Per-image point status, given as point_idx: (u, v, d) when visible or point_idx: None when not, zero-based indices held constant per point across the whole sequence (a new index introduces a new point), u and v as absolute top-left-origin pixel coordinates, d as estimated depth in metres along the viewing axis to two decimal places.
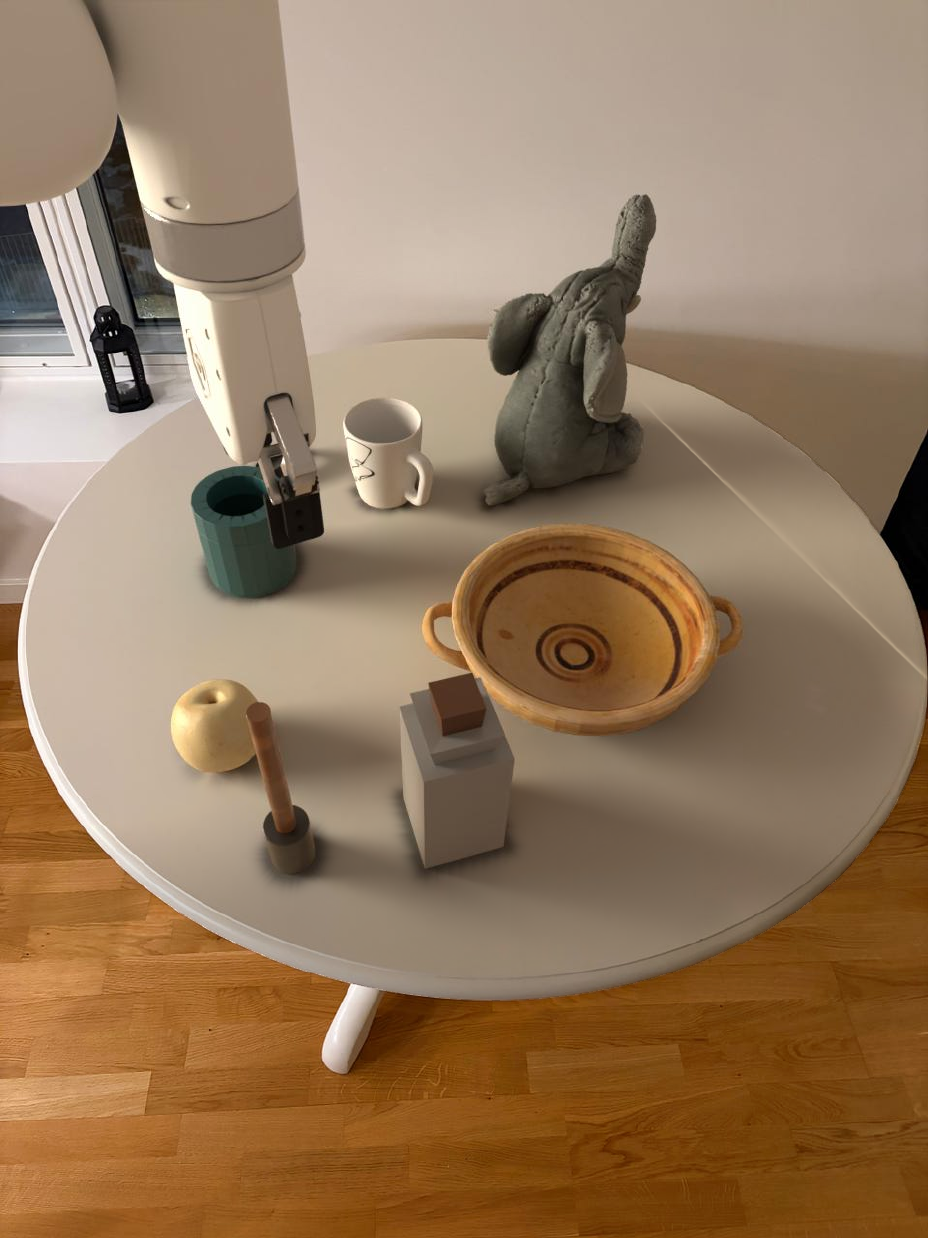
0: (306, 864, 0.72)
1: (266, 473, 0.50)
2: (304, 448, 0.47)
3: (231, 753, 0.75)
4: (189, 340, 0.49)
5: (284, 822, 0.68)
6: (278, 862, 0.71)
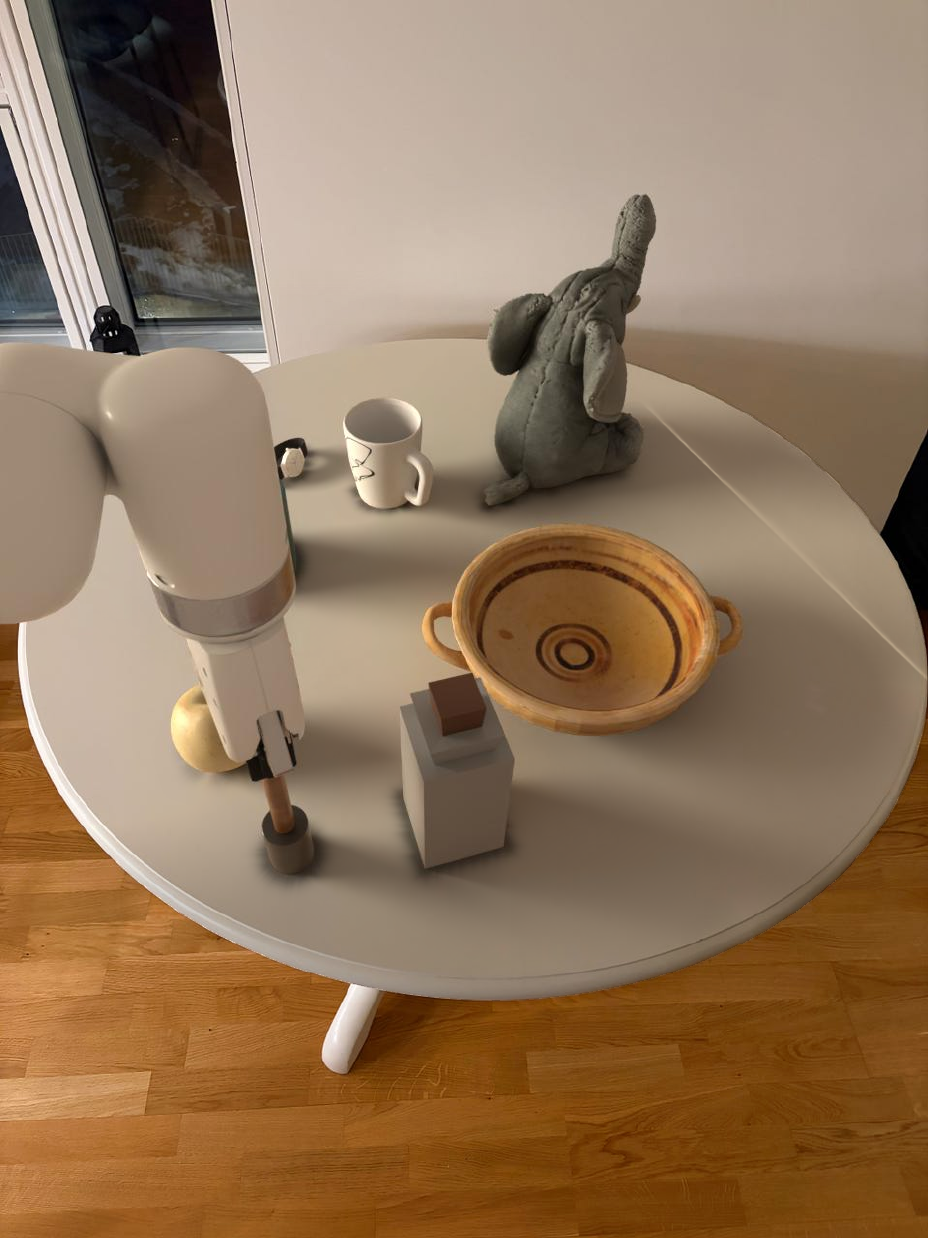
0: (305, 864, 0.72)
1: None
2: (286, 759, 0.54)
3: None
4: None
5: (283, 822, 0.68)
6: (277, 862, 0.71)
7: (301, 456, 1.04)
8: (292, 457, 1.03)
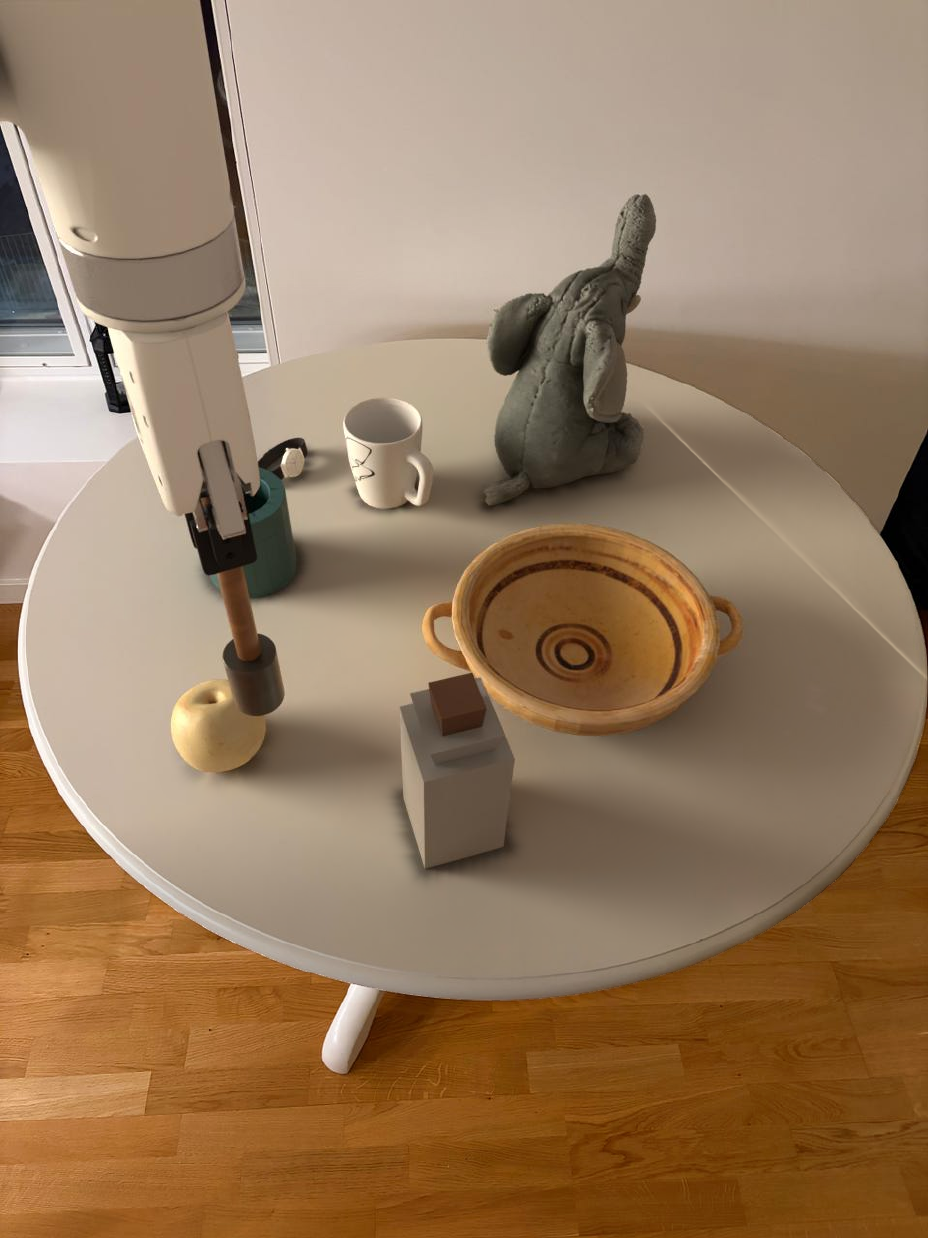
0: (273, 704, 0.64)
1: (195, 512, 0.48)
2: (236, 514, 0.45)
3: (231, 753, 0.75)
4: (122, 378, 0.45)
5: (246, 645, 0.59)
6: (240, 699, 0.63)
7: (301, 456, 1.04)
8: (292, 457, 1.03)
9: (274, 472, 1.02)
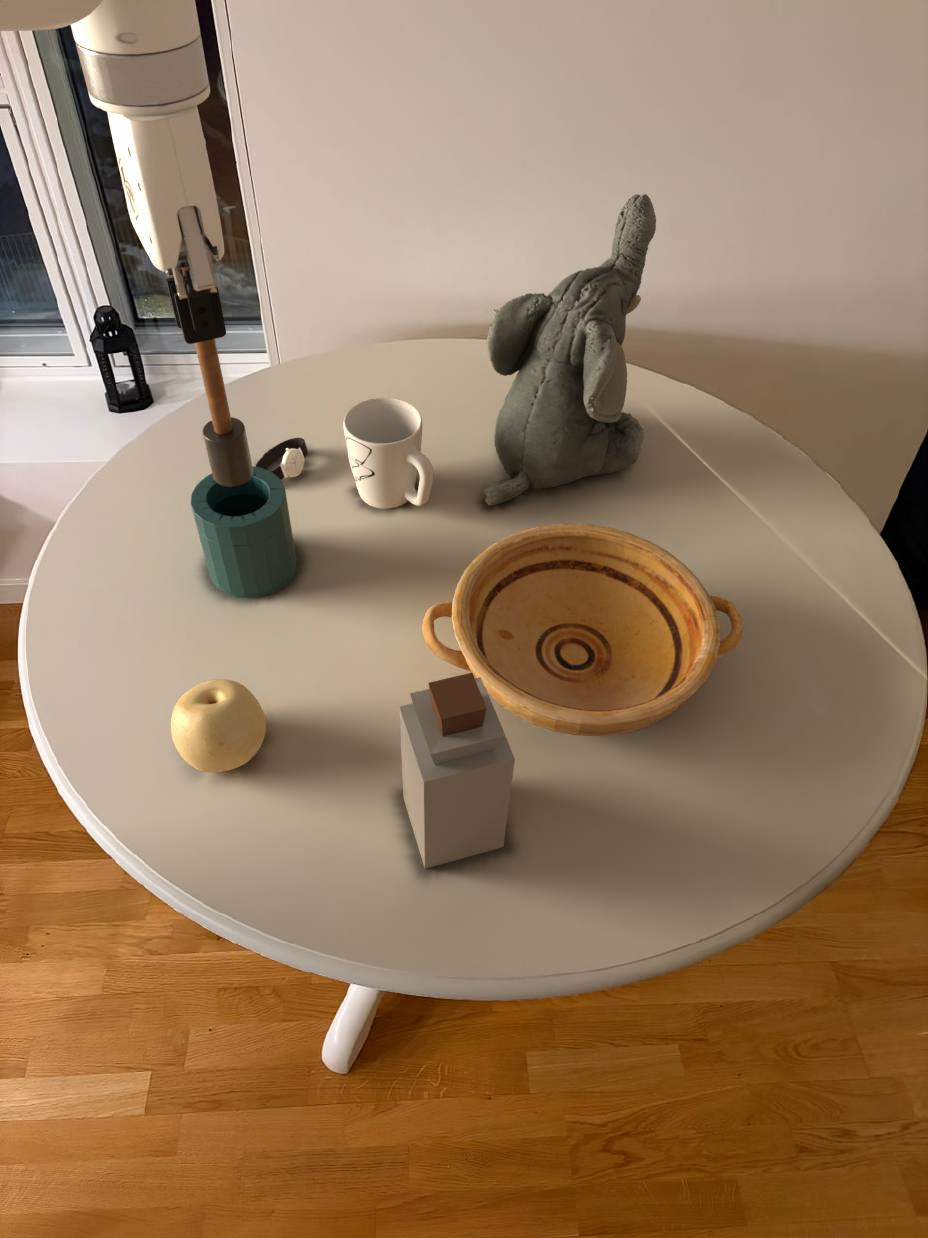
0: (243, 476, 0.80)
1: (177, 279, 0.65)
2: (207, 269, 0.62)
3: (231, 753, 0.75)
4: (122, 171, 0.62)
5: (220, 417, 0.76)
6: (217, 469, 0.79)
7: (301, 456, 1.04)
8: (292, 457, 1.03)
9: (274, 472, 1.02)
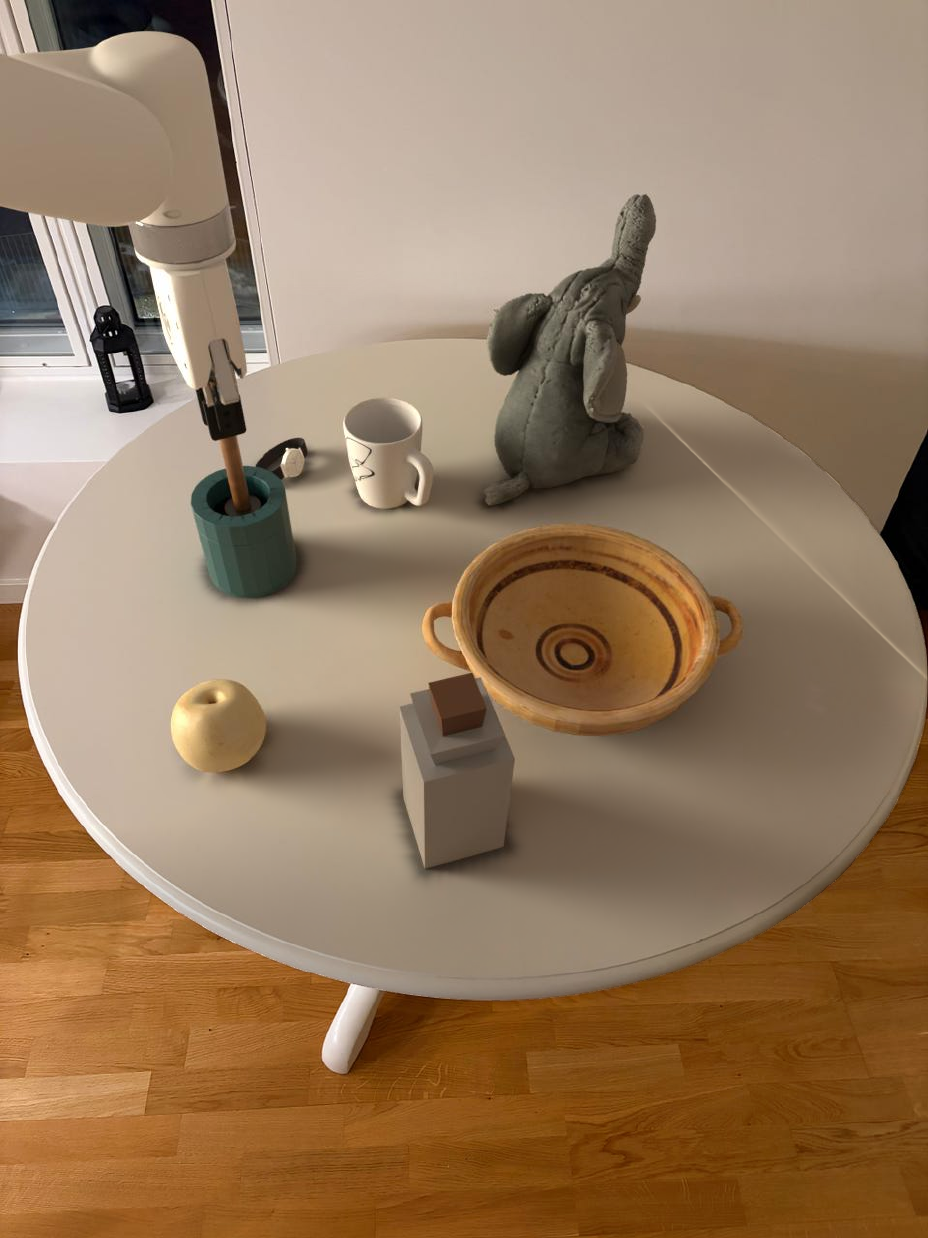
0: None
1: (206, 392, 0.75)
2: (232, 388, 0.73)
3: (231, 753, 0.75)
4: (160, 304, 0.73)
5: (240, 497, 0.87)
6: None
7: (301, 456, 1.04)
8: (292, 457, 1.03)
9: (274, 472, 1.02)
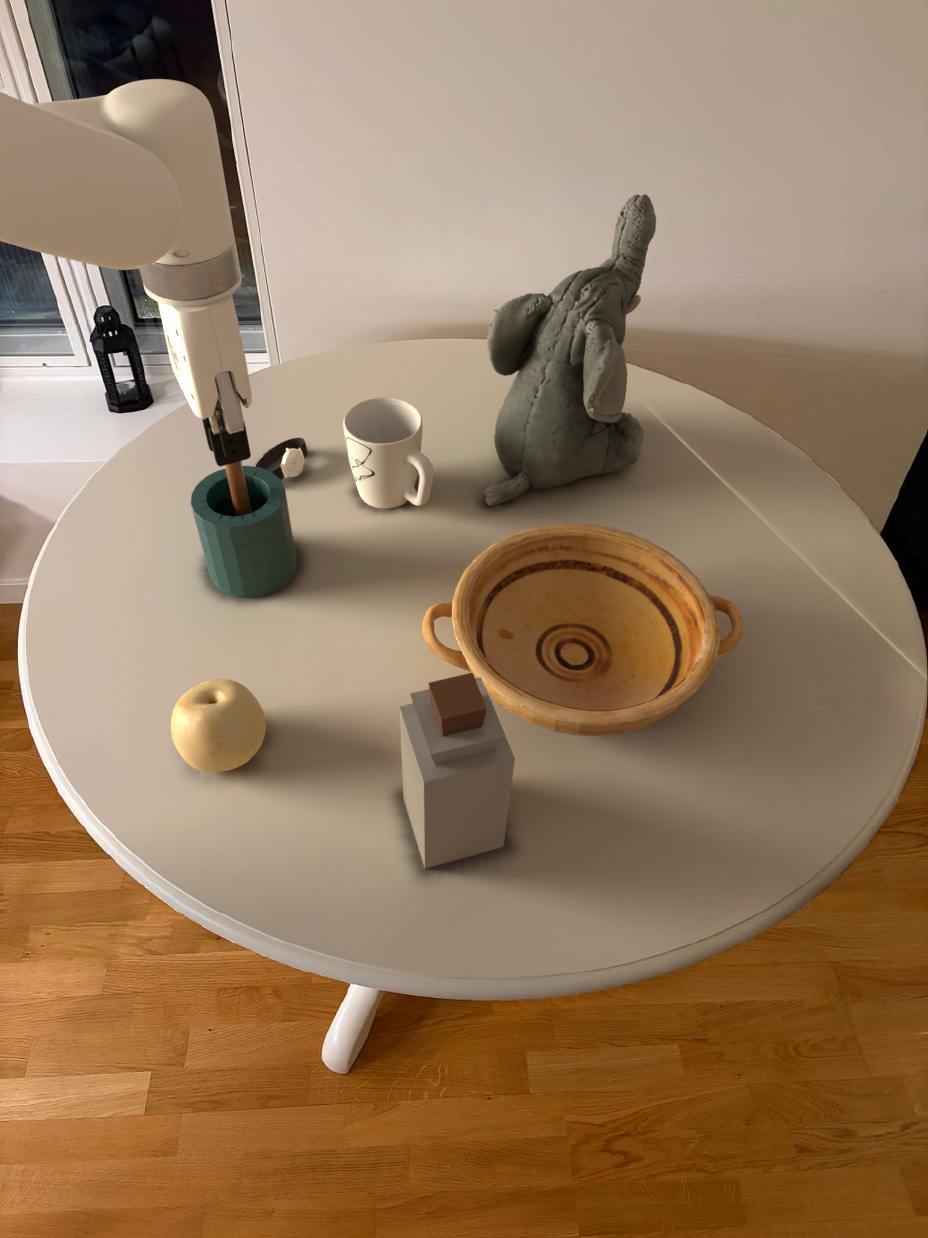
0: None
1: (212, 420, 0.78)
2: (238, 417, 0.75)
3: (231, 753, 0.75)
4: (167, 336, 0.75)
5: None
6: None
7: (301, 456, 1.04)
8: (292, 457, 1.03)
9: (274, 472, 1.02)
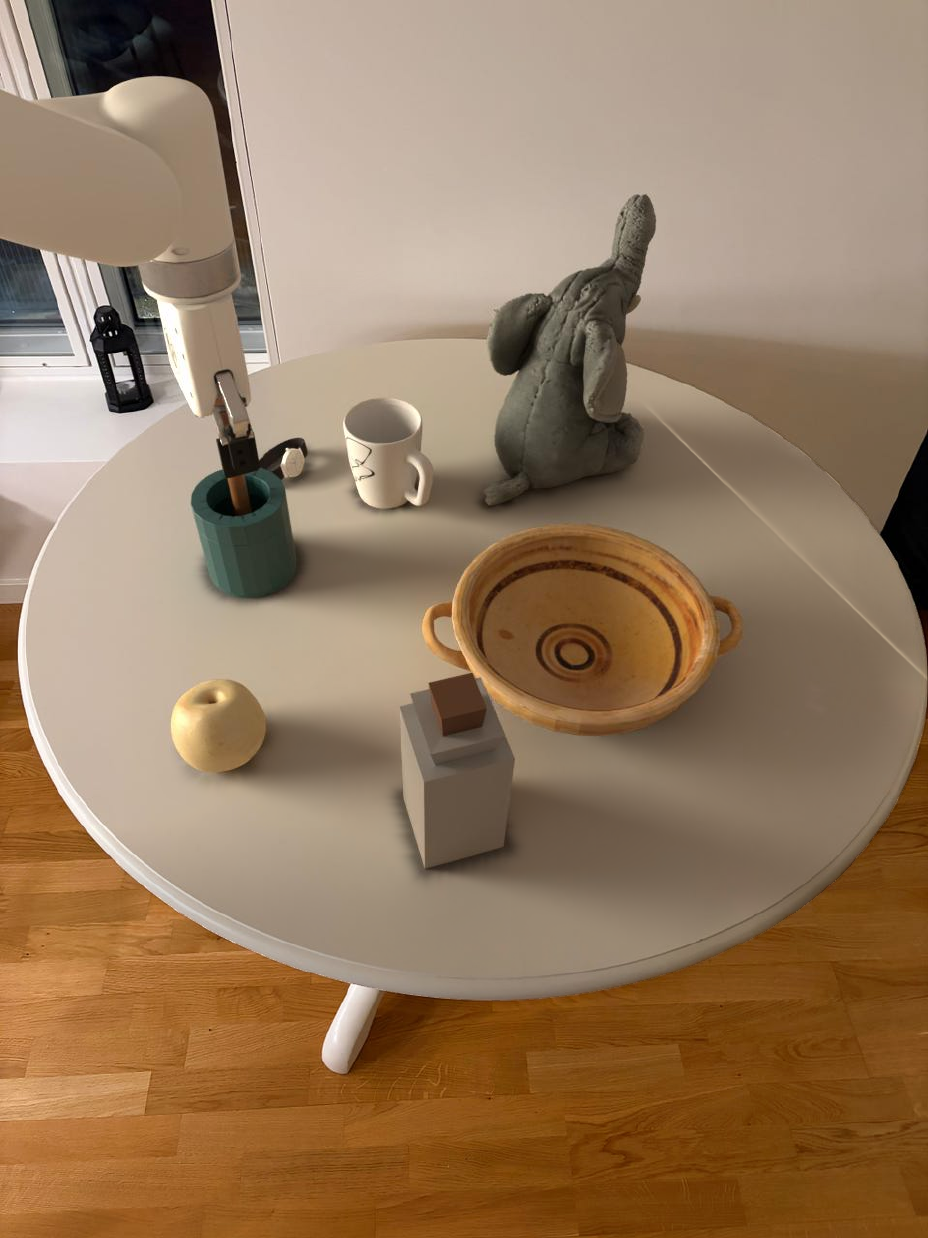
0: None
1: (217, 423, 0.75)
2: (239, 405, 0.72)
3: (231, 753, 0.75)
4: (166, 335, 0.75)
5: None
6: None
7: (301, 456, 1.04)
8: (292, 457, 1.03)
9: (274, 472, 1.02)
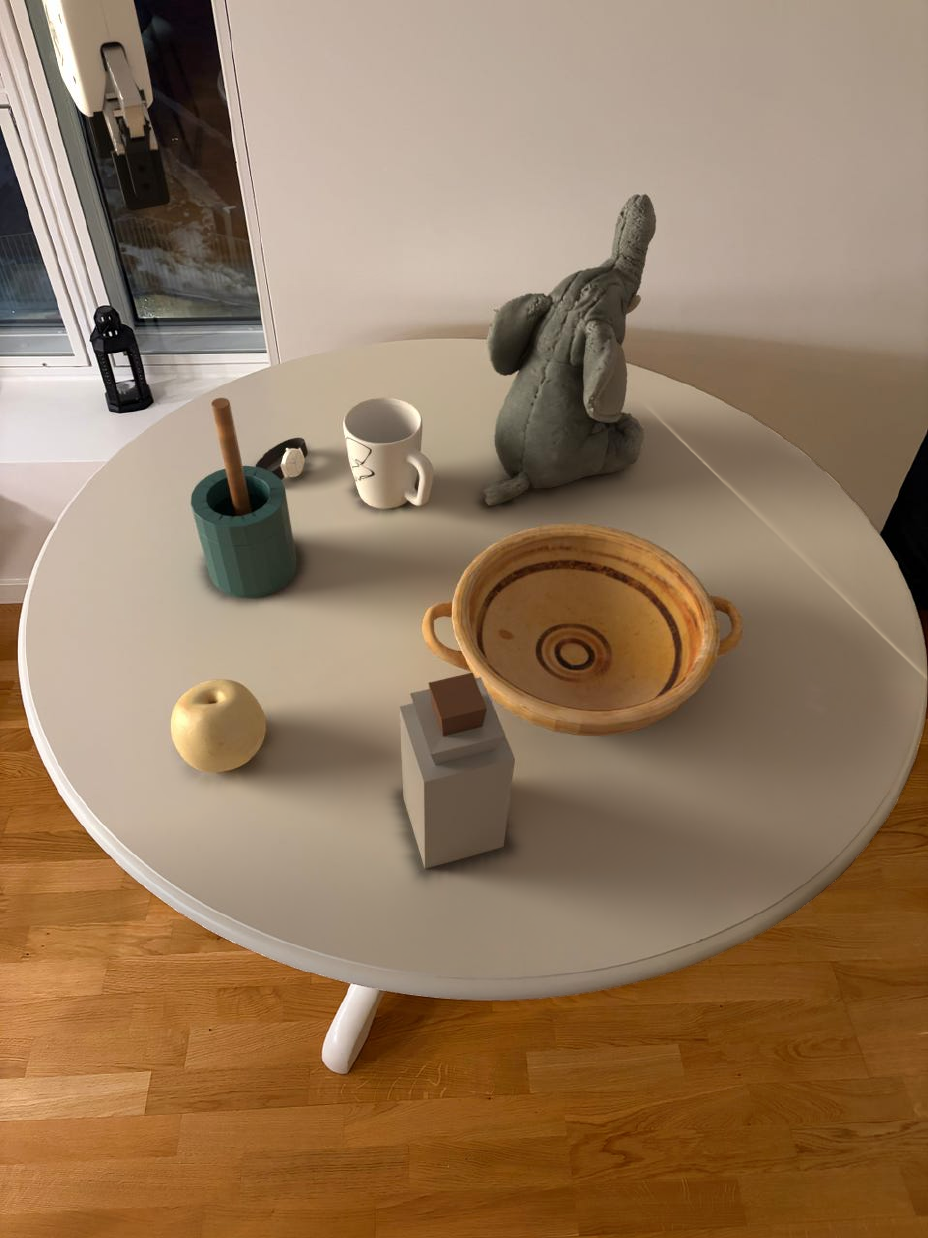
0: None
1: (110, 123, 0.61)
2: (132, 84, 0.58)
3: (231, 753, 0.75)
4: (47, 13, 0.60)
5: None
6: None
7: (301, 456, 1.04)
8: (292, 457, 1.03)
9: (274, 472, 1.02)
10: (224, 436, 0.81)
